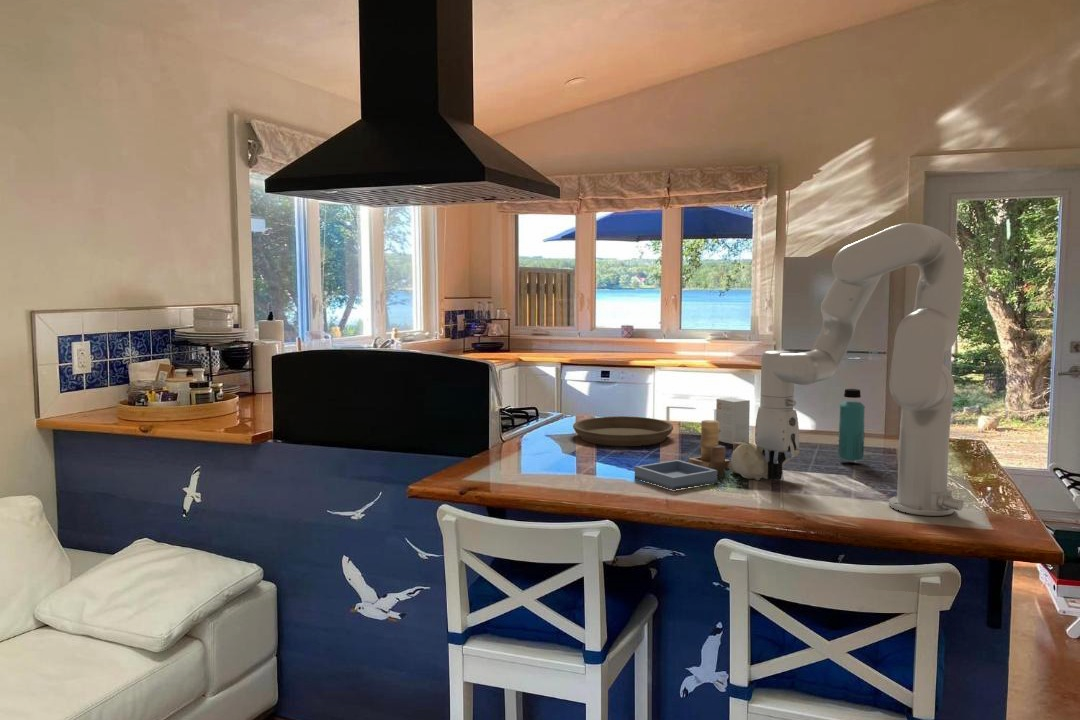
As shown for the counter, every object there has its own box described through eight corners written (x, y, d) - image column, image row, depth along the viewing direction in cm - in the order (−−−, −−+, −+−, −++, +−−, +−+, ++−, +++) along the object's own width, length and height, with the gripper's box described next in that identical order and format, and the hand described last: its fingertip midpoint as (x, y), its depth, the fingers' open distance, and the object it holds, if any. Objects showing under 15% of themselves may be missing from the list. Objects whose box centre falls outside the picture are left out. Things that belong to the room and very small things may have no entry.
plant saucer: (619, 453, 229) (619, 437, 229) (552, 436, 254) (553, 422, 253) (694, 440, 248) (694, 425, 247) (625, 426, 272) (625, 413, 272)
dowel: (721, 467, 210) (722, 422, 209) (709, 469, 208) (709, 423, 206) (709, 464, 214) (710, 419, 212) (697, 466, 211) (697, 421, 210)
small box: (749, 443, 242) (750, 400, 241) (733, 445, 239) (734, 401, 238) (730, 438, 249) (731, 397, 248) (714, 440, 246) (715, 398, 245)
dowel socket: (730, 467, 209) (730, 460, 209) (708, 471, 205) (709, 463, 205) (709, 462, 216) (709, 455, 216) (688, 465, 212) (688, 458, 212)
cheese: (717, 486, 198) (755, 457, 188) (713, 460, 203) (750, 430, 192) (767, 499, 203) (807, 472, 193) (763, 474, 208) (801, 446, 197)
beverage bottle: (865, 466, 211) (868, 390, 209) (839, 465, 212) (841, 390, 211) (861, 461, 217) (863, 387, 216) (835, 460, 219) (837, 387, 217)
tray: (717, 483, 193) (717, 470, 193) (673, 491, 185) (673, 477, 185) (677, 472, 205) (677, 459, 204) (634, 479, 197) (634, 466, 197)
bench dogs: (750, 470, 206) (750, 443, 206) (717, 476, 200) (717, 448, 199) (739, 467, 209) (740, 441, 209) (707, 473, 203) (707, 446, 202)
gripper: (813, 405, 186) (810, 483, 188) (763, 397, 199) (761, 470, 200) (791, 408, 182) (789, 487, 184) (741, 400, 195) (740, 474, 196)
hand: (774, 478), depth 192 cm, fingers closed
